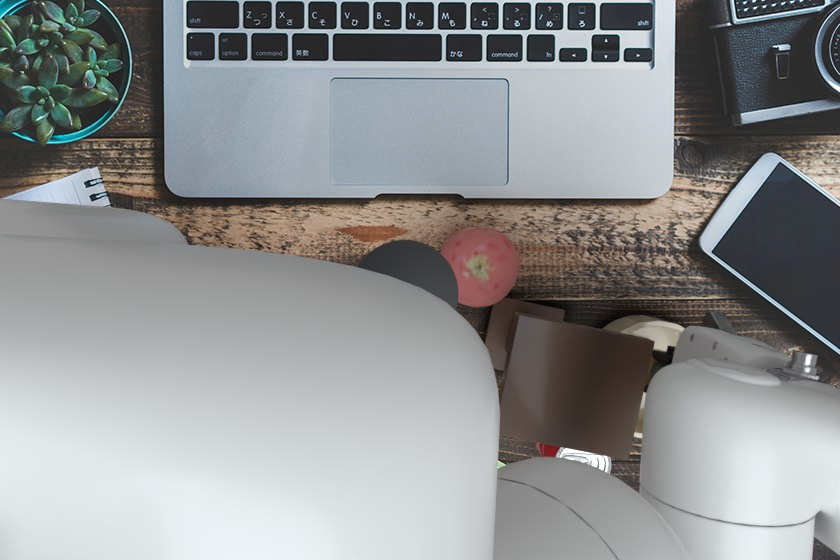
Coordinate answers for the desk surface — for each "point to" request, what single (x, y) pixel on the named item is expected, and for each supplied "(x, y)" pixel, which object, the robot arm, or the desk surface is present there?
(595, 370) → the stand
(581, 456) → the beverage can
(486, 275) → the apple
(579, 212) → the desk surface
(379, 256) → the light fixture
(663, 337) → the bowl
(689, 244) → the desk surface
